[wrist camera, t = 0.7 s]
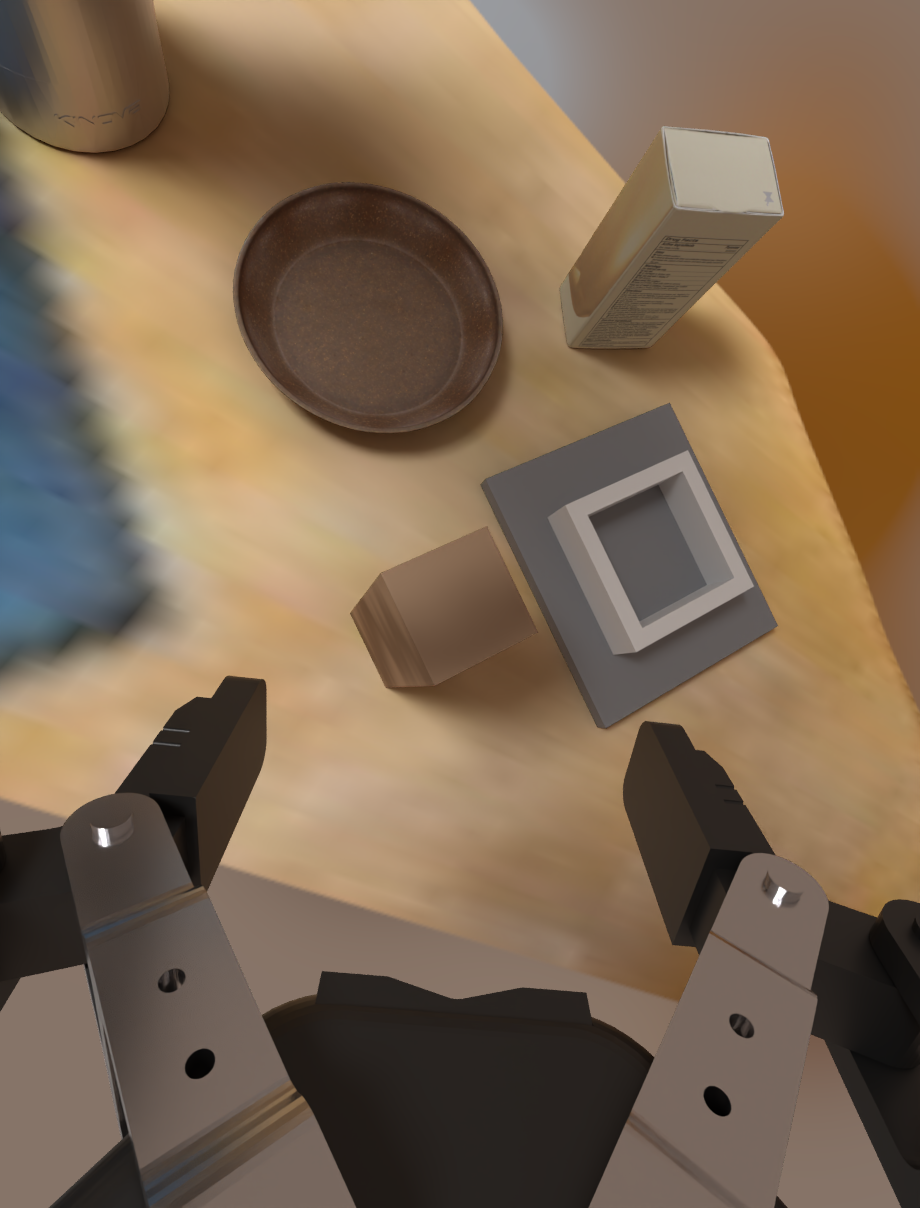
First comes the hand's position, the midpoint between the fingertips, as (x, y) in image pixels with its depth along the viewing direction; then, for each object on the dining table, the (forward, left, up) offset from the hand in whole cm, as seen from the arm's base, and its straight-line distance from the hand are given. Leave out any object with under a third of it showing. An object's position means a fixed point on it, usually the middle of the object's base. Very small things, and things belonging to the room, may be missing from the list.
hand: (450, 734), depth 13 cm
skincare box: (-15, +25, -21) cm, 36 cm away
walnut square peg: (-2, +4, -21) cm, 21 cm away
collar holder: (0, +19, -21) cm, 28 cm away
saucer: (-19, +10, -21) cm, 31 cm away
